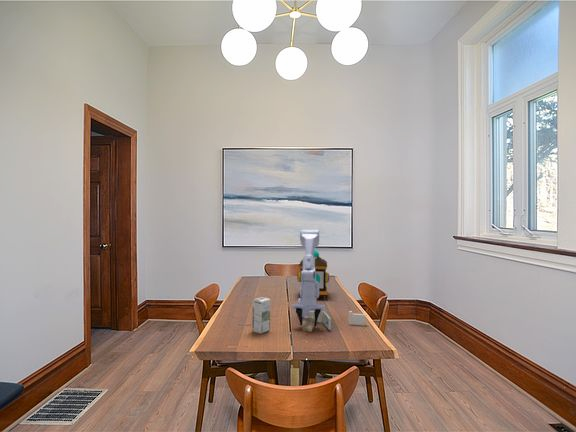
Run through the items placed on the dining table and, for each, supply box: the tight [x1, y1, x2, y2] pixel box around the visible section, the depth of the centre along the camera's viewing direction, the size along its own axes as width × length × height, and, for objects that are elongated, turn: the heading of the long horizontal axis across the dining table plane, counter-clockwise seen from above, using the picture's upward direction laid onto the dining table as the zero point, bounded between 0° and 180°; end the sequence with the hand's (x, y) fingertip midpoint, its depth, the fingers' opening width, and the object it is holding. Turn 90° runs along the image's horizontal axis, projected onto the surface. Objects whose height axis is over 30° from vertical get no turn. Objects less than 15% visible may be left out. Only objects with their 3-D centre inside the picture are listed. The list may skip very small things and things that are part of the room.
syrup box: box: [251, 296, 271, 335], centre depth 151 cm, size 6×6×14 cm
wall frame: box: [309, 310, 366, 326], centre depth 161 cm, size 27×2×6 cm, turn 78°
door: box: [322, 310, 332, 331], centre depth 157 cm, size 11×2×5 cm, turn 8°
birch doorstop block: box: [302, 316, 315, 333], centre depth 155 cm, size 4×8×4 cm, turn 168°
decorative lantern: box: [296, 248, 330, 301], centre depth 210 cm, size 20×20×30 cm
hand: (308, 325), depth 155 cm, fingers open, 6 cm apart
